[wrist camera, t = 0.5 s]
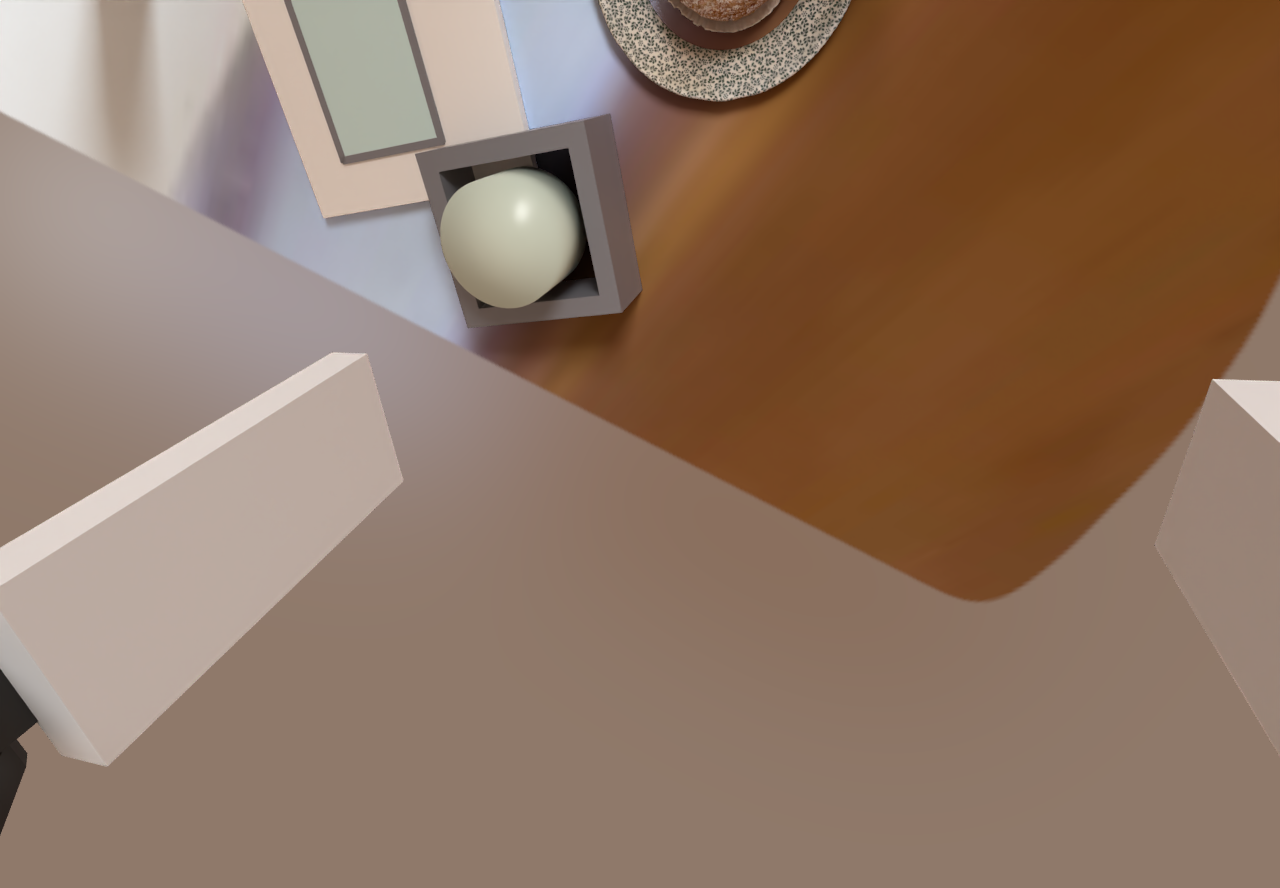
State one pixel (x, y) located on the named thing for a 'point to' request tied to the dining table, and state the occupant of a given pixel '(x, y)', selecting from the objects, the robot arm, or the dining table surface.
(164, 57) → the dining table surface
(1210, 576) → the robot arm
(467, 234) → the button
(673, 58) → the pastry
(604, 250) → the button housing
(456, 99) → the sheet
